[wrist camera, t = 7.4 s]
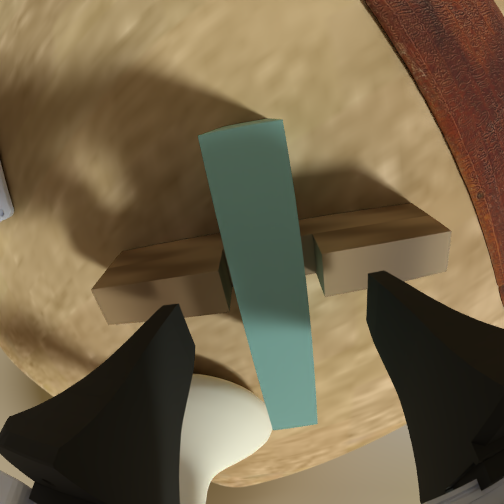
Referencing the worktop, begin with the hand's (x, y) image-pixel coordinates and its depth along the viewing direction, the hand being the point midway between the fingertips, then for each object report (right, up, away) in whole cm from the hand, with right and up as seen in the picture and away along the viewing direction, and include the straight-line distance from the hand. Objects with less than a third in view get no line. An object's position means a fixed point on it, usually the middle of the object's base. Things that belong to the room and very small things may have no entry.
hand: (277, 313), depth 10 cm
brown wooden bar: (0, +3, +5) cm, 6 cm away
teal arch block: (0, +3, +5) cm, 6 cm away
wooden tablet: (+16, +8, +3) cm, 18 cm away
